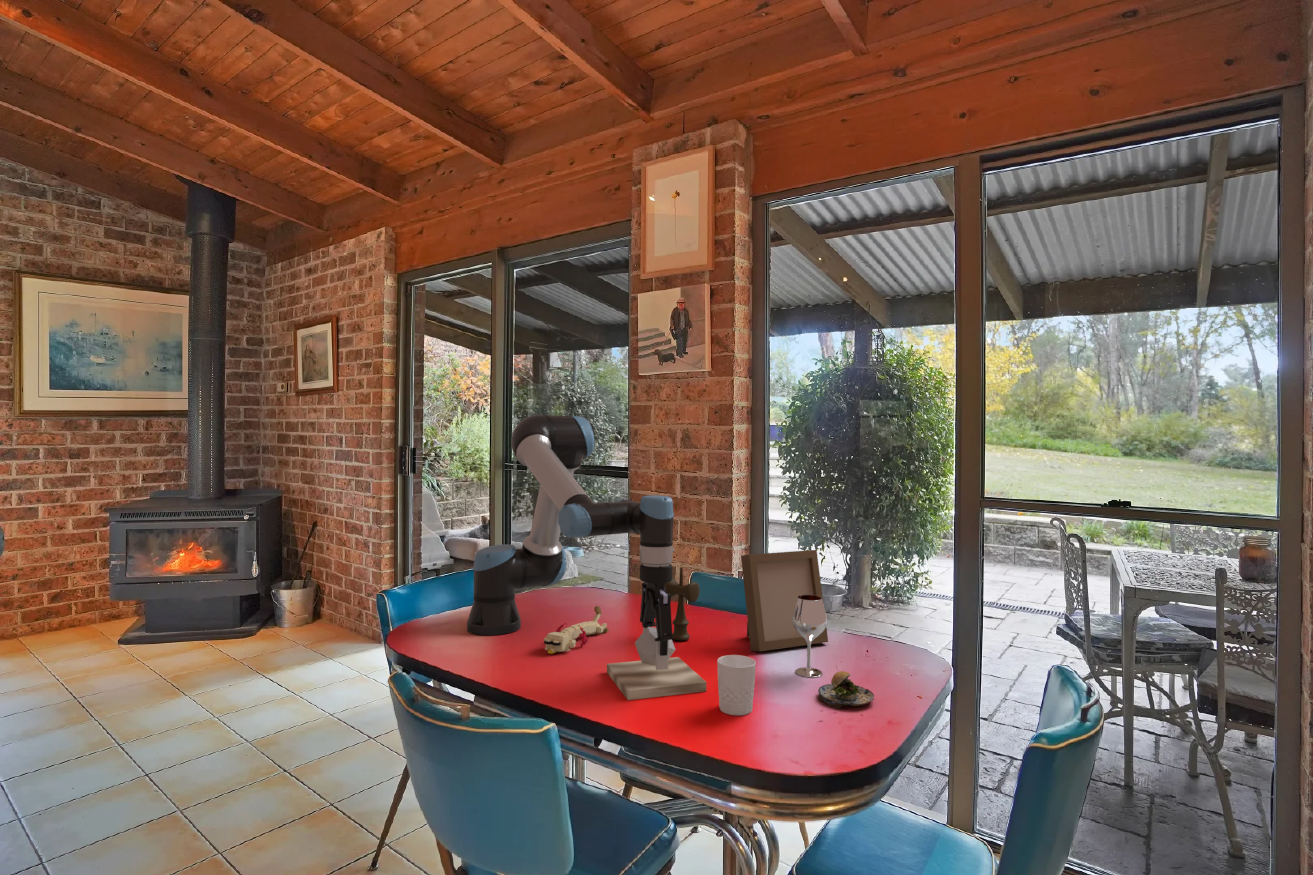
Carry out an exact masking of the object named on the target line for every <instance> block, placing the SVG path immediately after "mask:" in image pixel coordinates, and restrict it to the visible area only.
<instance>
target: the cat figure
mask: <svg viewBox="0 0 1313 875" xmlns="http://www.w3.org/2000/svg"><path fill="white" fill-rule="evenodd" d="M593 610H594V613H595V615H594V617H593V619H592V621H591V620H589V621H583V622H579V623H575V624H573V625H569V626H568V627H566V628H564V626H565V625H567V623H566V622H564V623H562V624H560V626H558V627H557V629H556V630H555V631H553V632H548V633H547V634H546V636H545V637H544V638H543V644H545V648H544V650H545V651H547V654H555V653H557V652H558V653H560V652H569V651H571V650H572V649H573V648H575V647H576V644H577V641H576V639H577V638H581V641H580V642H581V643H580V646H579V645H578V647H579V648H582V647H584V646H586V643H587V642H589V640H588V637H587V636H589V635H596V634H607V633H608V632H609V627H607V625H608V624H607V623H602V624H600V623H599V622H598V621H599V619H600V618H601V615H602V609H601V607H600V606H599V605H595V606H594V608H593ZM562 628H563V629H562Z"/></svg>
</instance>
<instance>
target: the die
mask: <svg viewBox="0 0 1313 875" xmlns="http://www.w3.org/2000/svg"><path fill="white" fill-rule="evenodd" d="M655 638H658V637H657V629H656V627H655V626H652V627H647V628H646V629H645V631H644V632H643V631H642V633H641V635H639V637H638V638H637V639H636V640H635V641H634V645H635V648H636V651H637V653H638V655H639V659H640V661H641V662H642V663H643V664H649V665H655V666H656V641H655ZM675 651H676V648H675V644H674V642H673V639H672V640H669V645H668V659H669V658H671V656H672V655H673V654H674V652H675Z"/></svg>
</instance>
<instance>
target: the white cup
mask: <svg viewBox="0 0 1313 875" xmlns="http://www.w3.org/2000/svg"><path fill="white" fill-rule="evenodd" d="M716 660H717V663H716V664H717V687H718V688H717V689H718V690H717V691H718V705H719V709H720V711H721V712H722V713H724V714H727V715H730V716H745V715H748V714H751V713H752V711H753V708H754V707H753V705H754V703H753V702H754V696H755V679H756V665H757V664H756V663H757V662H756V660H755V659H753V658H752V657H750V656H746V655H741V654H740V655H739V654H729V655H722V656H720V657H718V658H717V659H716Z"/></svg>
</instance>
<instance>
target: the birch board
mask: <svg viewBox="0 0 1313 875" xmlns="http://www.w3.org/2000/svg"><path fill="white" fill-rule="evenodd" d="M606 673H607V675H608V676H609V677H610V678H611V680H612V682H613V683H614V684H615V685H616V687H617V688H618V689H619V690H620V692H621V693H622V695H623V696H624V698H625V699H626V700H627V701H633V700H634V701H635V700H640V699H641V700H642V699H650V698H659V697H667V696H669V697H670V696H676V695H686V694H695V693H701V692H707V681H706V680H705V679H704V678H703V677H701V676H700V675H699V674H698V673H697V672H696V671H694V670H693V669H692V668H691V667H690V666H689V665H688V664H687V663H685V661H684V660H683V659H681V657H679V656H675V657H673V656H672V657H670V658H669V659H668V669H663V670H656V666H655V665H649V664H643V663H642V662H641V660H635V661H633V660H632V661H623V662H613V663H611V662H610V663H606Z"/></svg>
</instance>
